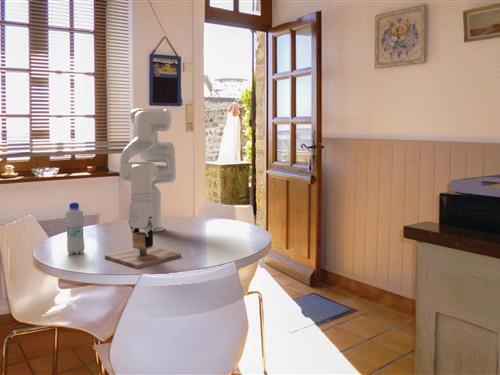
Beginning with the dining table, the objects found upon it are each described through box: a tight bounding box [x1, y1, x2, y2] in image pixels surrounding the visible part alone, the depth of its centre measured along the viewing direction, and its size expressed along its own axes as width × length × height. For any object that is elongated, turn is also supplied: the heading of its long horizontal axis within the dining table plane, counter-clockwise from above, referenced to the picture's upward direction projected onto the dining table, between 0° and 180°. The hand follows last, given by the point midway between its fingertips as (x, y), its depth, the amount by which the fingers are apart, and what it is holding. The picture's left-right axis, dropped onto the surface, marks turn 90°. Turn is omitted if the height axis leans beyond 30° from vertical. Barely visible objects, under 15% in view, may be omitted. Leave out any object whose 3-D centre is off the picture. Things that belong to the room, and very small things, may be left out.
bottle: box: [64, 202, 85, 256], centre depth 186 cm, size 7×7×20 cm
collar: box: [132, 231, 153, 249], centre depth 181 cm, size 7×7×5 cm
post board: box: [104, 246, 182, 270], centre depth 181 cm, size 20×20×8 cm
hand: (142, 244), depth 181 cm, fingers closed on collar, 6 cm apart
